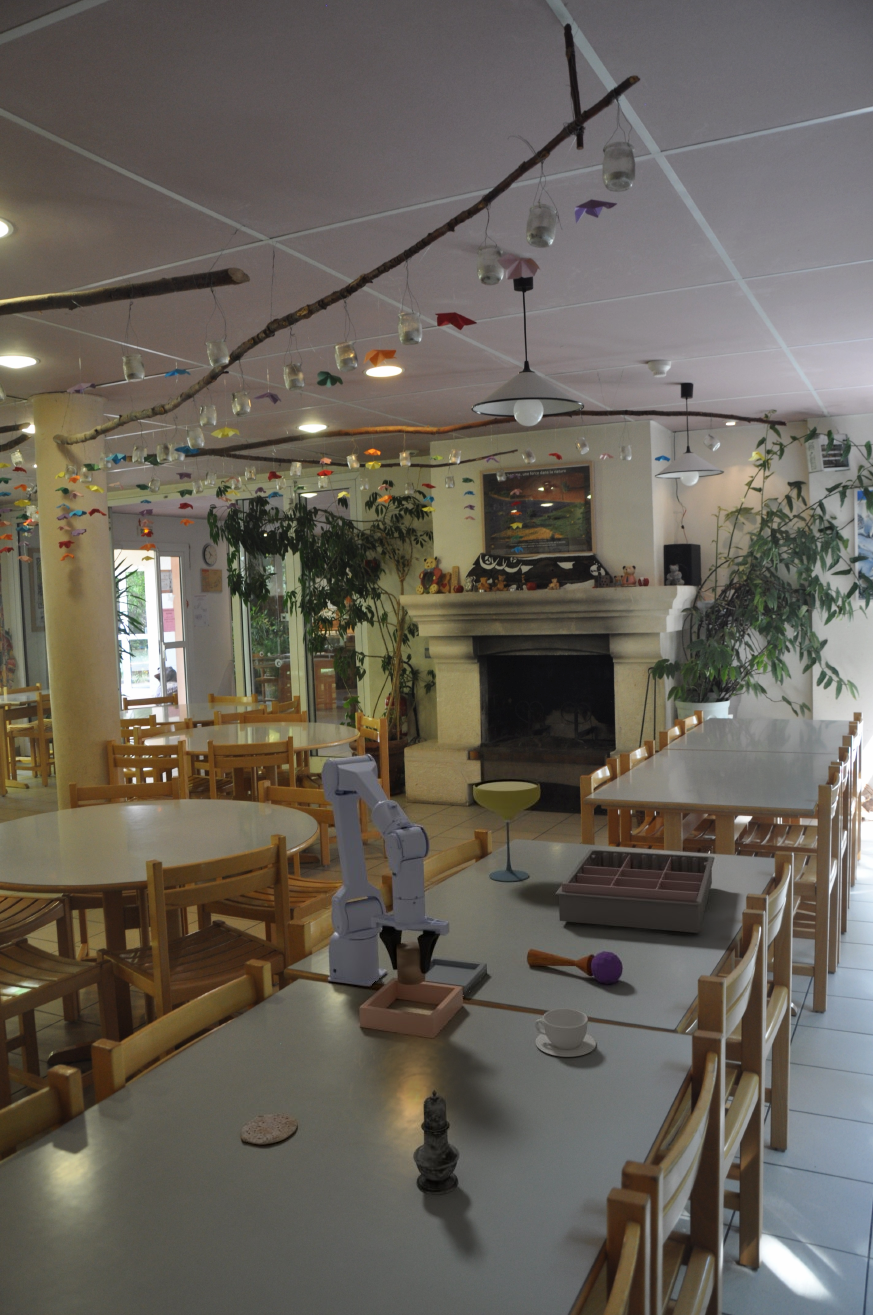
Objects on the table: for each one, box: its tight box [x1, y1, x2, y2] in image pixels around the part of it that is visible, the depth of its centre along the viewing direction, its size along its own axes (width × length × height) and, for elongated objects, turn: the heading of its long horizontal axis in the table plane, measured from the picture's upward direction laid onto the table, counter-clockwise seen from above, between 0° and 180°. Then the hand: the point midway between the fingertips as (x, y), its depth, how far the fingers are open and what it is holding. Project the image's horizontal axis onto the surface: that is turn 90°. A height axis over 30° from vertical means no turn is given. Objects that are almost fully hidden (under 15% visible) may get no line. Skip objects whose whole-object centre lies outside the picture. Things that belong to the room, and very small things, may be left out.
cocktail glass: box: [472, 778, 541, 883], centre depth 255 cm, size 18×18×25 cm
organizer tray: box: [554, 849, 715, 934], centre depth 227 cm, size 32×40×10 cm
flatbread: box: [240, 1112, 299, 1146], centre depth 133 cm, size 8×8×1 cm
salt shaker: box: [412, 1089, 460, 1196], centre depth 120 cm, size 6×6×12 cm
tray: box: [424, 955, 488, 997], centre depth 185 cm, size 12×12×2 cm
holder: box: [358, 977, 464, 1039], centre depth 169 cm, size 14×14×4 cm
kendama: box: [526, 948, 624, 985], centre depth 186 cm, size 6×6×20 cm
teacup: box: [534, 1008, 597, 1058], centre depth 157 cm, size 10×10×5 cm
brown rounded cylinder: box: [396, 941, 425, 985], centre depth 169 cm, size 5×5×6 cm
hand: (411, 970), depth 169 cm, fingers closed on brown rounded cylinder, 5 cm apart
